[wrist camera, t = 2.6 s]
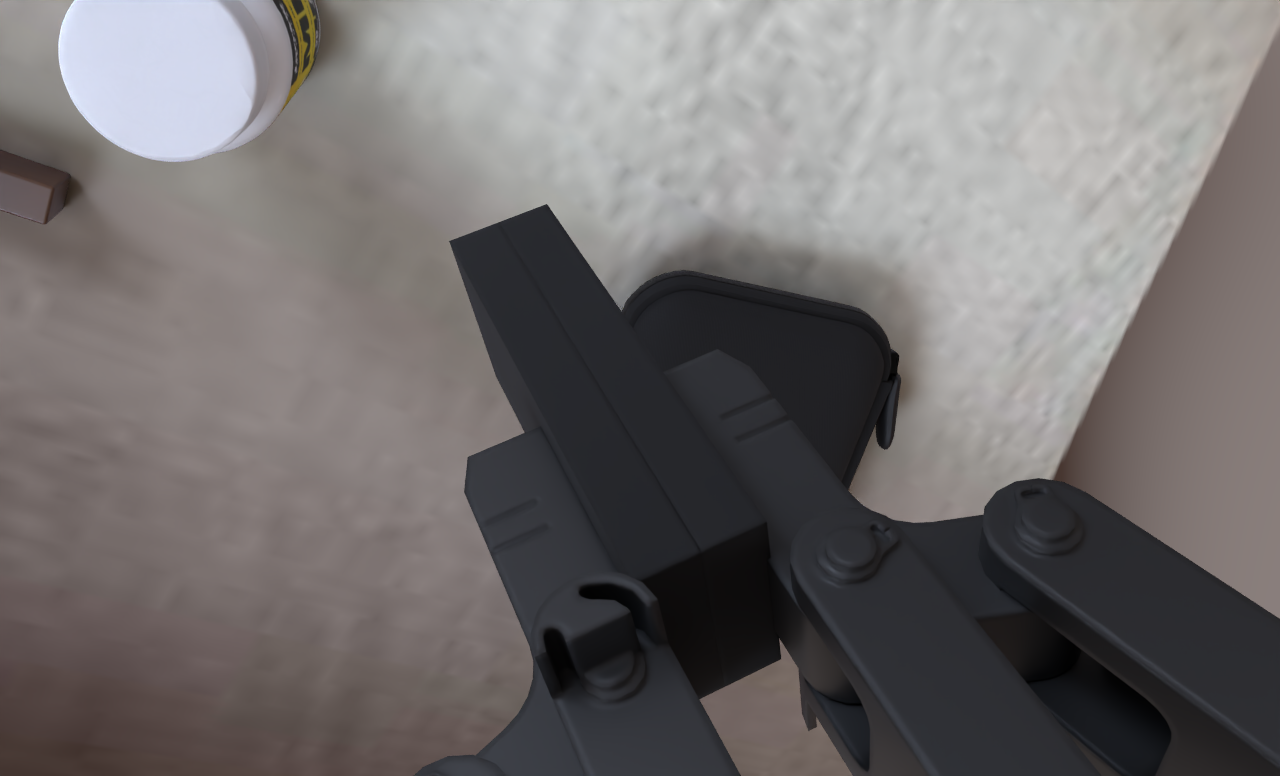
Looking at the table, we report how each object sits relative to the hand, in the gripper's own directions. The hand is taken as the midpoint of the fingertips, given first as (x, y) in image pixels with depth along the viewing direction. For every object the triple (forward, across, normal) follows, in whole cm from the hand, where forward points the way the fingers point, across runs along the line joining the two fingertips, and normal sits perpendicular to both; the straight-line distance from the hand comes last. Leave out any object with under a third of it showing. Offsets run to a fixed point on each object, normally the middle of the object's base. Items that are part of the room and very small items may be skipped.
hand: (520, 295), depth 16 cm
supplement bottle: (+19, -3, -2) cm, 19 cm away
